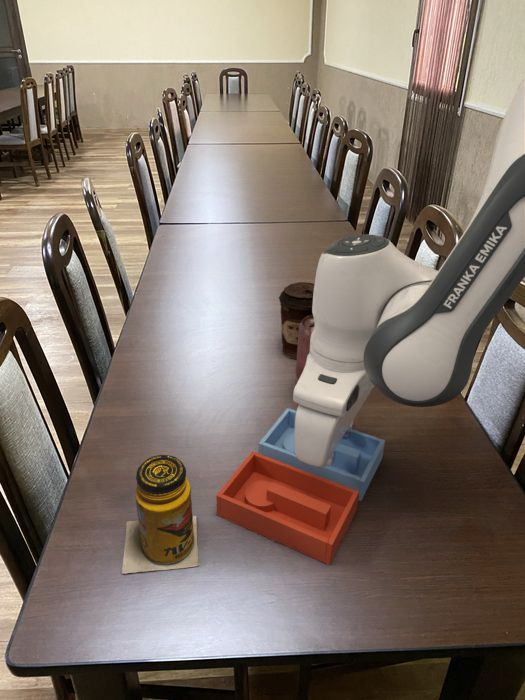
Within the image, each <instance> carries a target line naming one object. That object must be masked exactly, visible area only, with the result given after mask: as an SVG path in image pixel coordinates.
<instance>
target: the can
mask: <svg viewBox="0 0 525 700" xmlns="http://www.w3.org/2000/svg"><path fill="white" fill-rule="evenodd" d="M314 325H315V321H314V317H313V315H312V316H308V317H305V318H304V319H303V320H302V322H301V324H300V326H299V333H298V349H297V359H296V365H295V367H296V368H295V383H294V387H295V386H296V384H297V382H298V380H299V378H300V376H301V374H302V372H303V370H304V368H305V365H306V361H307V356H308V354H309V352H310V339H311V334H312V332H313V329H314Z"/></svg>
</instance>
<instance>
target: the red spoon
mask: <svg viewBox="0 0 525 700" xmlns="http://www.w3.org/2000/svg"><path fill="white" fill-rule="evenodd" d="M245 503H246V504H247V505H250V506H252V507H254V508H257V509H259V510H261V511H264V512H269V511H272V510H275V511H278V512H280V513H282V514H285V515H287V516H289V517H292V518H294V519H297V520H299V521H301V522H304V523H306V524H308V525H311V526H313V527H315V528H318V529H320V530H323V531H325V529H326V527H327V525H328V524H329V520H330V512H331V505H329V504H327V503H324V502H322V501H319V500H317V499H314V498H312V497H309V496H307V495H304V494H302V493H299V492H297V491H294V490H292V489H289V488H287V487H284V486H282V485H279V484H277V483H274V482H272V483H271V482H268V481H256V482H253V483H251V484H250V485H249V486H248V487H247V488H246V490H245Z"/></svg>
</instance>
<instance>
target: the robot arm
mask: <svg viewBox="0 0 525 700" xmlns="http://www.w3.org/2000/svg"><path fill="white" fill-rule="evenodd" d="M315 272H316V273H315V278H314V284H315V285H314V293H313V305H312V312H313V317H314V321H315V325H314V329H313V332H312V334H311V339H310V352H309V354H308V356H307V361H306V365H305V368H304V370H303V372H302V374H301V376H300V378H299V380H298V382H297V384H296V386H295V385H294V388H293V391H292V401H293V403H295V404H297V405H298V406H297V408H296V417H295V455H296V457H297V458H298V460H300V461H301V462H304V463H306V464H309V465H311V466H315V467H318V468H323V467H325V465H328V466H332V464H333V462H334V460H335V454H336V452H334V450H335V449H336V447H337V446H338V444H339V442H340V441H341V439H342V438H343V439H345V440H346V439H348V437H349V436H350V434H351V432H352V429H353V425H354V421H355V419H356V417H357V415H358V414H359V412H360V410H361V408H362V407H363V405H364V403H365V402H366V400H367V399H368V397H369V395H370V394H371V392H372V390H373V389H374V388H376V390H378V391H379V392H380V393H381V394H383V396H385V397H386V398H388V399H390V400H391V401H394V402H395V403H398V404H401V405H404V406H410V407H415V408H429V407H431V408H432V407H437V406H440V405H444V404H446V403H449V402H450V401H452V400H454V399H455V398H457V397H458V396H459V395H460V394H461V393H463V391H464V390H465V388H466V387H467V385H468V383H469V380H470V377H471V375H472V374H471V373H472V369H473V363H474V359H475V354H476V350H477V348H478V344H479V342H480V340H481V338H482V336H483V335H484V333H485V331H486V330H487V329H488V327H489V326H490V324H491V323H492V321H493V320H494V319H495V317H496V316H497V315H498V313H499V312H500V311H501V310H502V308H503V307H504V305H505V304H506V303H507V301H508V300H509V299H510V297H511V296H512V295H513V293H514V292H515V291H516V289H517V288H518V287H519V285H520V284H521V282H522V281H523V280H524V279H525V75H524V76H523V78H522V80H521V82H520V83H519V85H518V87H517V89H516V91H515V93H514V95H513V97H512V99H511V101H510V103H509V106H508V107H507V109H506V112H505V115H504V116H503V118H502V122H501V124H500V125H499V129H498V131H497V133H496V137H495V141H494V145H493V149H492V155H491V159H490V165H489V169H488V173H487V176H486V181H485V185H484V188H483V190H482V194H481V196H480V199H479V202H478V204H477V207H476V209H475V212H474V213H473V216H472V217H471V219H470V221H469V223H468V225H467V227H466V228H465V229H464V232H463V233H462V235H461V236H460V238H459V239H458V240H457V242H456V244H455V245H454V247H453V248H452V250H451V251H450V253H449V254H448V256H447V257H446V259H445V260H444V262H443V263H442V265H441V267H440V268H439V269H435V268H432V267H428V266H426V265H424V264H422V263H421V262H418V261H416V260H414V259H412V258H410V257H409V256H407V255H406V254H404V253H403V252H401V251H400V250H399V249H398V248H397V247H396V246H395V245H394V243H392V242H391V240H389V239H388V238H386V237H384V236H380V235H376V234H370V233H369V234H368V233H367V234H365V233H363V234H353V235H349V236H345V237H343V238H338V239H337V240H335V241H333V242H332V243H331V244H329V245H328V246H327V247H326V248H325V249H324V250H323V252H322V253H321V255H320V256H319V260H318V263H317V267H316V271H315Z"/></svg>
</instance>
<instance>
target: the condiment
mask: <svg viewBox="0 0 525 700" xmlns="http://www.w3.org/2000/svg"><path fill="white" fill-rule="evenodd" d="M135 480H136V488H135V491H134V498H135V505H136V511H137V518H138V520H127V521H126V525H125V526H126V527H125V537H124V538H125V539H124V549H123V559H122V568H121V575H125V574H136V573H141V572H142V573H143V572H153V571H166V570H168V571H169V570H176V569H185V568H186V569H187V568H193V567H198V566H199V557H198V556H199V550H198V529H197V528H198V527H197V515H194V514H193V504H192V503H193V502H192V487H191V484H190V481H189V480H188V477H187V470H186V466H185V465H184V462H182V461H181V460H180V459H179V458H177V457H176V456H173V455H168V454H158V455H157V454H156V455H154V456H153V455H152V456H151V457H148V458H147V459H146V460H144V461H143V462H142V463H141V464H140V465H139V467H138V468H137V471H136V476H135Z"/></svg>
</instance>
